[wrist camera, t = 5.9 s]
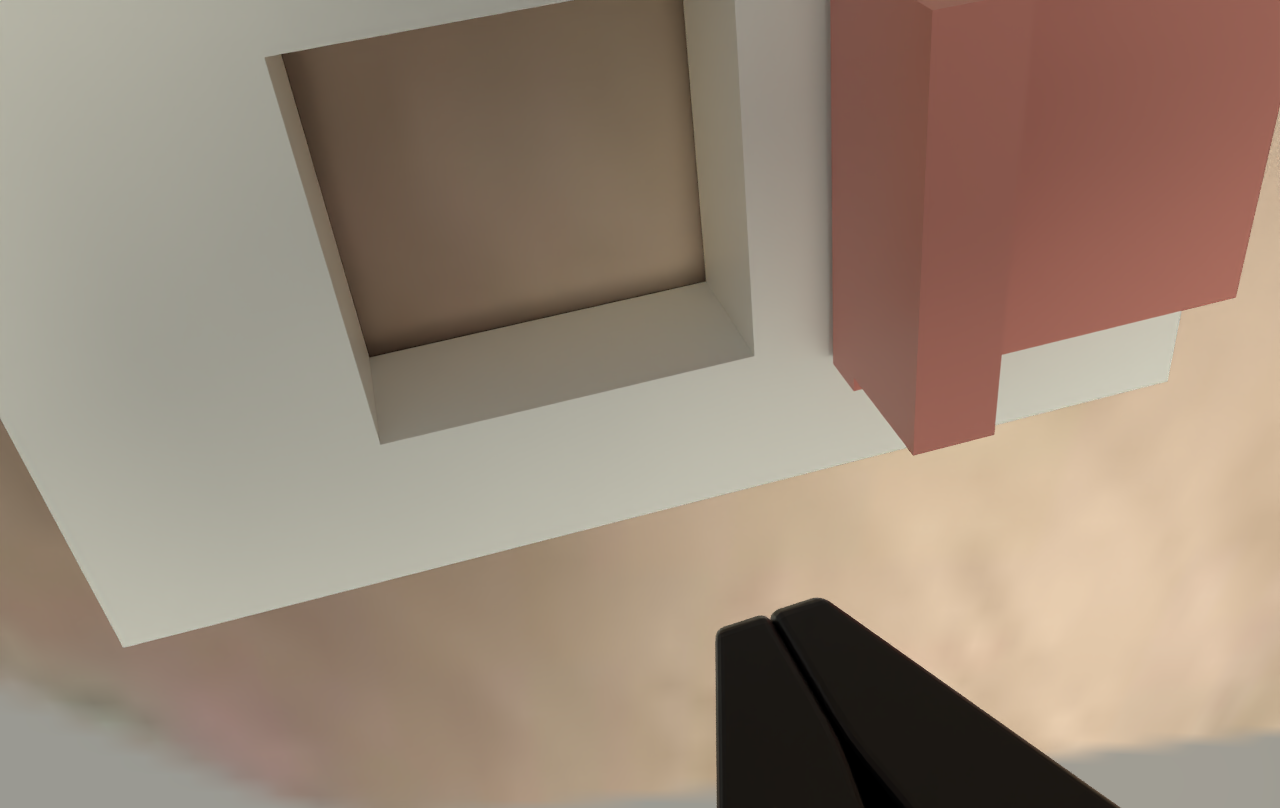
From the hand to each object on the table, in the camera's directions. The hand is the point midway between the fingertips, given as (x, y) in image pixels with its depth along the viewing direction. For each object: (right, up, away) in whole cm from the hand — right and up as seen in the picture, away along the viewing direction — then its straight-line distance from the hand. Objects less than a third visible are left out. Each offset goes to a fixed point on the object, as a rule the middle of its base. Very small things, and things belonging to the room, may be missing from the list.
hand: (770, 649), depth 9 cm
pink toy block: (+5, +6, +8) cm, 11 cm away
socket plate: (-1, +6, +9) cm, 11 cm away
